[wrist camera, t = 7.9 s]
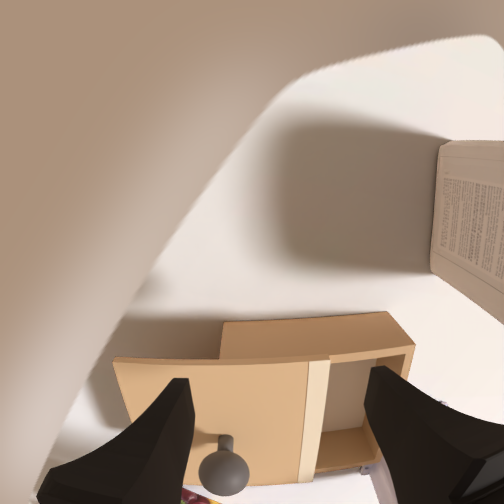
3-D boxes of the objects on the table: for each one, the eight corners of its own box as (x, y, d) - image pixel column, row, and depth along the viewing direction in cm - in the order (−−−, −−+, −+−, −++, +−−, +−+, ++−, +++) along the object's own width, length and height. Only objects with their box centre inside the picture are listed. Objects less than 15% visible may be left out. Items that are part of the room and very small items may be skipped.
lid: (311, 475, 21) (320, 526, 16) (156, 476, 21) (145, 524, 16) (328, 353, 17) (352, 413, 13) (115, 356, 17) (83, 411, 12)
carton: (364, 424, 26) (379, 462, 21) (234, 436, 25) (233, 478, 21) (387, 311, 22) (415, 344, 18) (223, 321, 22) (218, 361, 18)
